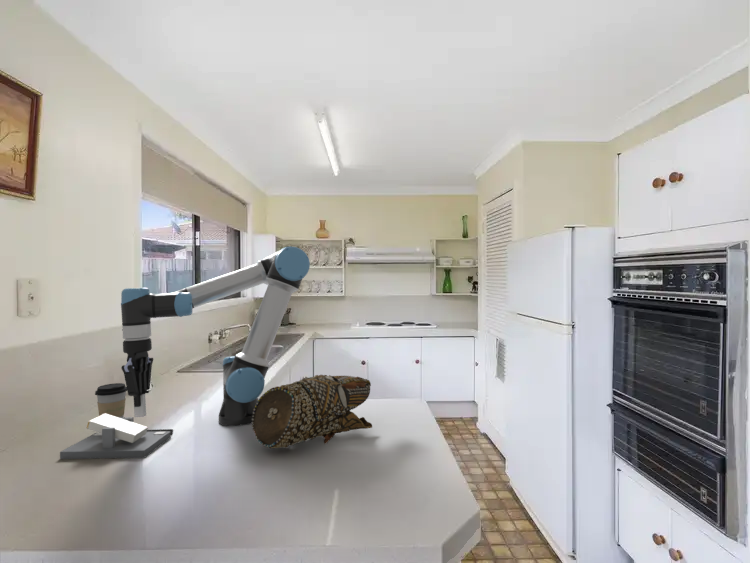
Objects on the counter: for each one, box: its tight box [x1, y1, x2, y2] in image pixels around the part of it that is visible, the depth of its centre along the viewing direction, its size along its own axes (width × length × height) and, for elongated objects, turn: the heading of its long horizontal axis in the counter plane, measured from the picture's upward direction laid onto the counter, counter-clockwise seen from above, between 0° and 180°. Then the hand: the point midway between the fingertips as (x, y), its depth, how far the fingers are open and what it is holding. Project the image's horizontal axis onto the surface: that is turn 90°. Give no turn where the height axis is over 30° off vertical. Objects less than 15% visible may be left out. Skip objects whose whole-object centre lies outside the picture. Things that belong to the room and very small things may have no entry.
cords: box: [147, 428, 174, 436], centre depth 134 cm, size 17×3×1 cm, turn 90°
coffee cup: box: [94, 382, 128, 418], centre depth 139 cm, size 9×9×15 cm
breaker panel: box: [59, 416, 172, 460], centre depth 123 cm, size 24×15×8 cm, turn 90°
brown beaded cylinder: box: [251, 374, 373, 449], centre depth 128 cm, size 24×22×35 cm
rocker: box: [86, 413, 149, 443], centre depth 123 cm, size 14×7×2 cm, turn 90°
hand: (140, 416), depth 124 cm, fingers closed
